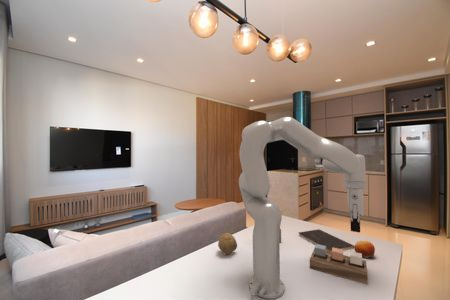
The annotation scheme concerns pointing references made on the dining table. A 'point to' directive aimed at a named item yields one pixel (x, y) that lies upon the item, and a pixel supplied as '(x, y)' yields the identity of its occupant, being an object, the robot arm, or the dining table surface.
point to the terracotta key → (337, 254)
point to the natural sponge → (227, 243)
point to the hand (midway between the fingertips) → (355, 230)
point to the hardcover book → (325, 240)
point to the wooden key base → (339, 267)
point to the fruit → (365, 248)
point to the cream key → (356, 258)
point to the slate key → (320, 250)
